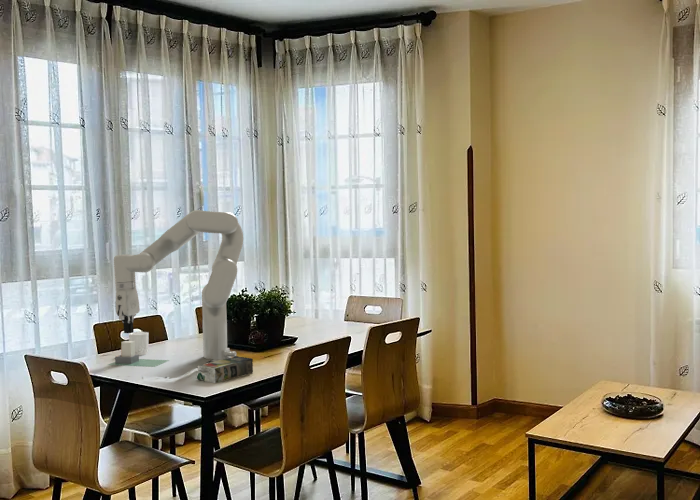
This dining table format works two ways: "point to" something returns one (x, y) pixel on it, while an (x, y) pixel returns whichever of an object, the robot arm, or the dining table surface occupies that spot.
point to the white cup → (140, 342)
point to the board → (136, 361)
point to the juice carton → (225, 369)
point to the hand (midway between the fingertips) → (128, 332)
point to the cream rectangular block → (127, 348)
